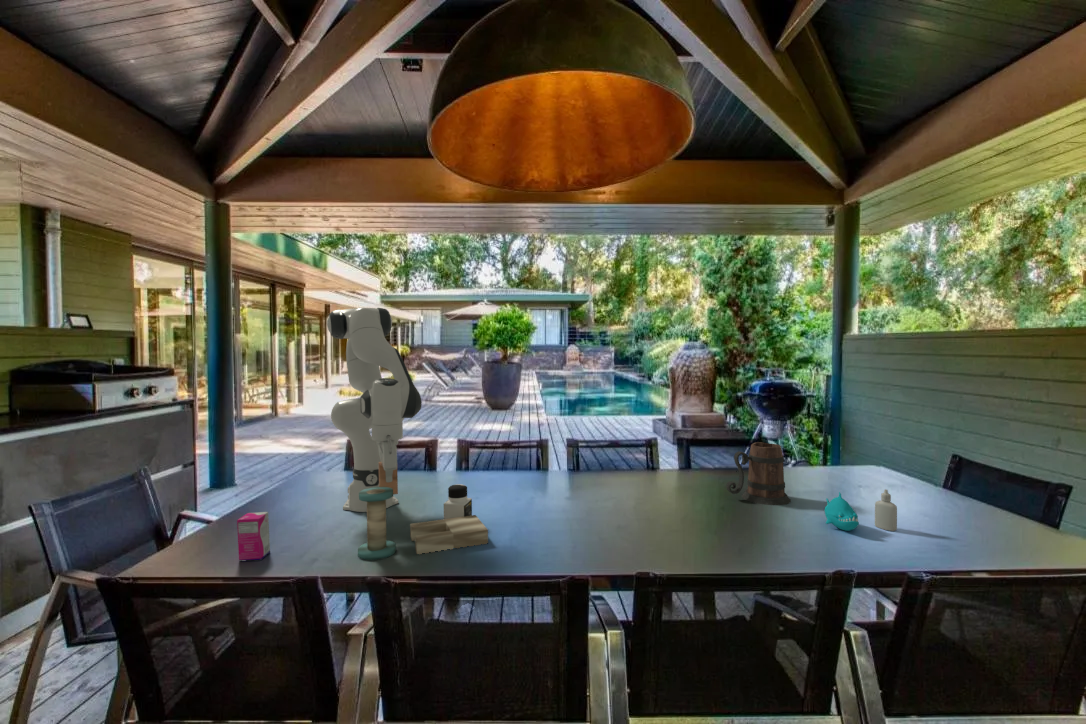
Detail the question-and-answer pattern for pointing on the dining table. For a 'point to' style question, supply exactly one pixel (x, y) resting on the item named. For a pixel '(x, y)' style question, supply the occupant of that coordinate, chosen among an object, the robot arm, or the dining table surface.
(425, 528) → the notched board
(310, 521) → the dining table surface
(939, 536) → the dining table surface
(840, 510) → the toy shark
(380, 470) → the wooden block
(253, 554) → the supplement box
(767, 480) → the tankard
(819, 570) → the dining table surface
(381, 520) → the bobbin
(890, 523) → the eye dropper bottle
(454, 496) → the medicine bottle
